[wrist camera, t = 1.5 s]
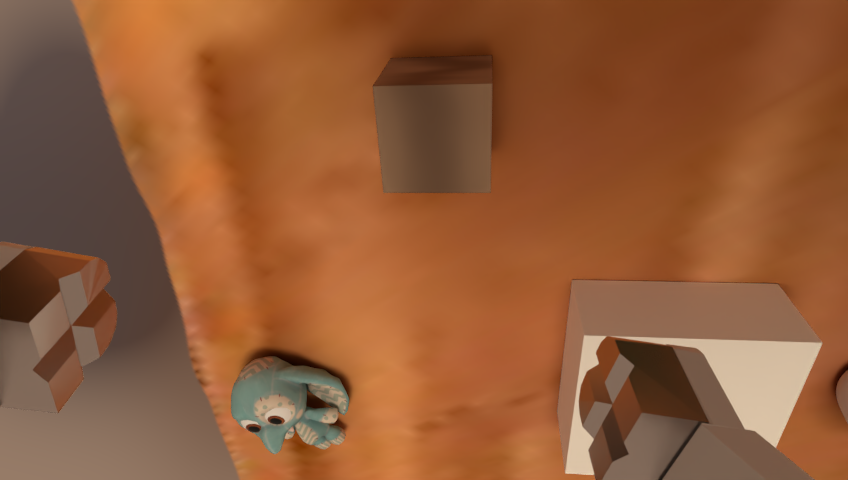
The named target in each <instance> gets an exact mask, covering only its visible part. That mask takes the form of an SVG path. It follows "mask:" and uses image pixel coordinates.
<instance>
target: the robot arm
mask: <svg viewBox="0 0 848 480" xmlns="http://www.w3.org/2000/svg"><path fill="white" fill-rule="evenodd" d="M109 281H110V275H109V271H108V267H107V263H106V262H105V261H103V260H101V259H100V258H96V257H90V256H85V255H79V254H74V253H67V252H62V251H57V250H51V249H45V248H39V247H30V246H25V245H19V244H13V243H8V242H0V407H5V408H14V409H23V410H33V411H42V412H50V413H59V411H60V410H61V409H62V407H63V406H64V405H65V403H66V402H67V401H68V399H69V398H70V397H71V395H72V394H73V393H74V391H75V390H76V389H77V387H78V386H79V385H80V383H81V382H82V380H84V377H83V371H82V366H84V365H86V364H88V363H90V362H92V361H94V360H96V359H98V358H99V357H101V355H102V354H103V352H104V351H105V350H106V348H107V347H108V345H109V344H110V342H111V339H112V336H113V333H114V331H115V328H116V321H117V309H116V304H115V301H114V300H113V298H112V297H111V296H110V295H109V294H108V293H107V292H106V291H105V290H104V289H103V288H104V286H105V285H106V284H107V283H108V282H109ZM596 355H597V359H598V362H599V364H598V365H596V366H595V367H593V368H592V369H590V370H588V371H587V372H586V375H585V377H584V379H583V382H582V384H581V388H580V395H579V414H580V418H581V423H582V427H583V428H584V429H585V430H586V431H587V432H588V433H589V434H590V435H591V436H592V437H593V439H594V440H593V442H592V444H591V446H590V448H589V450H588V451H589V455H590V459H591V463H592V467H593V471H594V475H595V479H596V480H814V479H813V478H812V477H811V476H809V475H808V474H807V473H806V472H804V471H803V470H802V469H801V468H800V467H798V466H797V465H796V464H795V463H793V462H792V461H791V460H790V459H789V458H787V457H786V456H785V455H784V454H782V453H781V452H780V451H779V450H778V449H776V448H775V447H774V446H773V445H771V444H770V443H769V442H768V441H767V440H765V439H764V438H763V437H762V436H760V435H759V434H758V433H757V432H755V431H752V430H746V429H745V428H744V426H743V425H742V423H741V421H740V419H739V417H738V416H737V414H736V412H735V410H734V408H733V406H732V405H731V403H730V401H729V399H728V397H727V396H726V394H725V392H724V390H723V388H722V387H721V385H720V383H719V381H718V379H717V377H716V376H715V374H714V372H713V370H712V368H711V367H710V365H709V363H708V361H707V359H706V357H705V356H704V354H703V353H702V352H701V351H699V350H698V349H697V348H692V347H685V346H677V345H670V344H666V345H664V344H658V343H651V342H645V341H638V340H631V339H624V338H617V337H610V336H607V337H606V338H605V339H604V340H603V341H601V343H600V345H599V347H598V349H597V351H596Z"/></svg>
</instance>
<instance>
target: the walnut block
mask: <svg viewBox="0 0 848 480" xmlns="http://www.w3.org/2000/svg"><path fill="white" fill-rule="evenodd" d="M373 94H374V104H375V114H376V123H377V133H378V143H379V153H380V163H381V173H382V183H383V192H384V193H491V140H492V55H483V56H448V57H412V58H391V59H390V61H389V62H388V64H387V65H386V67H385V68H384V70H383V71H382V73H381V74H380V76H379V77H378V79H377V81H376V82H375V84H374V85H373Z"/></svg>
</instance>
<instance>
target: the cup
mask: <svg viewBox="0 0 848 480" xmlns="http://www.w3.org/2000/svg"><path fill="white" fill-rule="evenodd" d="M836 398H837V402H838V404H839V407H840V409H841V411H842V413H843V415H844V417H845V419H846V421H847V423H848V370H847V371H846V372H845V373H844V374H843V375H842V376H841V378H840V379H839V381H838V384H837V387H836Z"/></svg>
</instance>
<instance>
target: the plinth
mask: <svg viewBox="0 0 848 480" xmlns="http://www.w3.org/2000/svg"><path fill="white" fill-rule="evenodd" d="M607 336H610V337H617V338H624V339H631V340H638V341H645V342H651V343H658V344H664V345H666V344H670V345H677V346H685V347H692V348H697V349H698V350H699V351H701V352H702V353H703V354H704V356H705V357H706V359H707V361H708V363H709V365H710V367H711V368H712V370H713V372H714V374H715V376H716V377H717V379H718V381H719V383H720V385H721V387H722V388H723V390H724V392H725V394H726V396H727V397H728V399H729V401H730V403H731V405H732V406H733V408H734V410H735V412H736V414H737V416H738V417H739V419H740V421H741V423H742V425H743V426H744V428H745V429H746V430H752V431H755V432H757V433H758V434H759V435H760V436H762V437H763V438H764V439H765V440H767V441H768V442H769V443H770V444H771V445H773V446H774V447H775V448H776V446H777V444H778V441H779V439H780V437H781V435H782V433H783V430H784V428H785V426H786V424H787V421H788V419H789V417H790V415H791V412H792V410H793V408H794V406H795V404H796V401H797V399H798V397H799V395H800V392H801V390H802V388H803V386H804V383H805V381H806V379H807V377H808V375H809V372H810V370H811V368H812V366H813V363H814V361H815V359H816V357H817V354H818V352H819V350H820V348H821V346H822V341H821V340H820V339H819V337H818V336H817V335H816V333H815V332H814V331H813V329H812V328H811V327H810V325H809V324H808V323H807V322H806V320H805V319H804V318H803V316H802V315H801V314H800V312H799V311H798V310H797V308H796V307H795V306H794V304H793V303H792V302H791V300H790V299H789V298H788V296H787V295H786V294H785V292H784V291H783V290H782V289H781V287H780V286H779V285H778V284H766V283H715V282H664V281H613V280H572V284H571V293H570V302H569V310H568V319H567V328H566V337H565V345H564V354H563V363H562V372H561V381H560V389H559V398H558V407H557V415H558V423H559V431H560V438H561V446H562V453H563V461H564V469H565V473H569V474H585V475H594V471H593V467H592V463H591V459H590V455H589V451H588V450H589V448H590V446H591V444H592V442H593V440H594V439H593V437H592V436H591V435H590V434H589V433H588V432H587V431H586V430H585V429H584V428H583V427H582V423H581V418H580V414H579V395H580V388H581V384H582V382H583V379H584V377H585V375H586V372H587V371H588V370H590V369H592V368H593V367H595V366H596V365H598V364H599V362H598V359H597V355H596V351H597V349H598V347H599V345H600V343H601V341H603V340H604V339H605V338H606V337H607Z"/></svg>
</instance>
